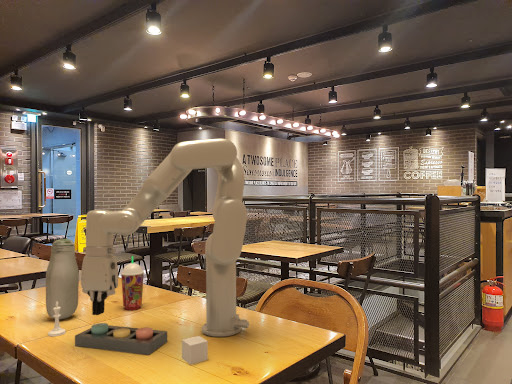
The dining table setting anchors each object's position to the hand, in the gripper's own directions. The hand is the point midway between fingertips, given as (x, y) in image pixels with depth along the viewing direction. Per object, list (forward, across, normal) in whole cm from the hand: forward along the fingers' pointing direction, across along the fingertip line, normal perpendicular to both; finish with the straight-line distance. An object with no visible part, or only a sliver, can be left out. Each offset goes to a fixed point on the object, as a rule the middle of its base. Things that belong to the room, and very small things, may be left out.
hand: (98, 313), depth 112 cm
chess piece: (+9, +17, -2) cm, 19 cm away
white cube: (+8, -33, +4) cm, 34 cm away
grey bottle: (+9, +27, -15) cm, 32 cm away
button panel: (+8, -8, 0) cm, 11 cm away
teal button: (+6, 0, 0) cm, 6 cm away
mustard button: (+7, -8, 0) cm, 11 cm away
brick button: (+6, -15, 0) cm, 17 cm away
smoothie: (+8, +10, -32) cm, 35 cm away
